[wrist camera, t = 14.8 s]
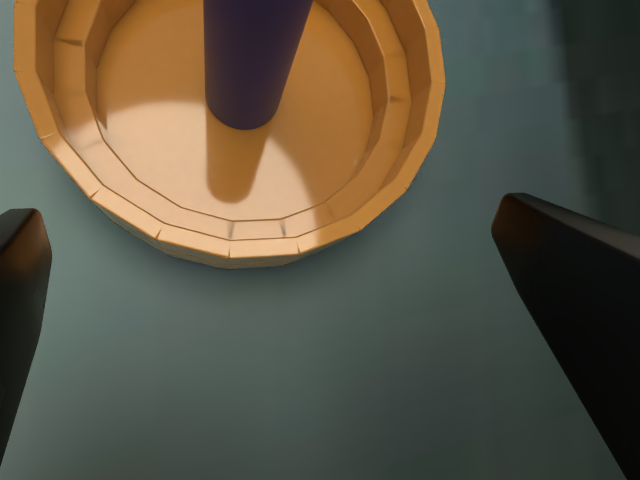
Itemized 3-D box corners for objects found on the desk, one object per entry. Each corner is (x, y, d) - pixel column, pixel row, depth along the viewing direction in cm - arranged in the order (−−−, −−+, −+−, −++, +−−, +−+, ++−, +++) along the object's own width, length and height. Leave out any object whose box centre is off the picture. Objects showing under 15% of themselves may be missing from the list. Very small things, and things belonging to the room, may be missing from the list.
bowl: (416, 258, 21) (467, 244, 17) (58, 281, 17) (11, 271, 13) (383, -37, 23) (421, -114, 19) (55, -68, 19) (14, -169, 15)
